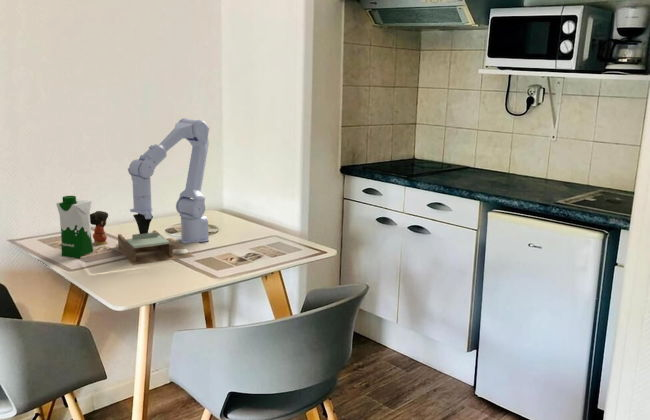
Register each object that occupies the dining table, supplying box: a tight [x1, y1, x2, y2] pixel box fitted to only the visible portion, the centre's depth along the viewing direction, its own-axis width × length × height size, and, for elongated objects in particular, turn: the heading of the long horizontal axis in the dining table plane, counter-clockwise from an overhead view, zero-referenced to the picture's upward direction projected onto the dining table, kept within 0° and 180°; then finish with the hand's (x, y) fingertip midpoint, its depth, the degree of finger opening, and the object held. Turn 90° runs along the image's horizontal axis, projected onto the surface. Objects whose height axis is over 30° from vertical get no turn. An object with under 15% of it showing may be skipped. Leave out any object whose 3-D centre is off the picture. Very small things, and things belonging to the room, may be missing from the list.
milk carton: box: [55, 195, 94, 259], centre depth 195 cm, size 9×9×20 cm
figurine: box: [90, 210, 109, 246], centre depth 208 cm, size 6×6×12 cm
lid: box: [126, 231, 169, 248], centre depth 196 cm, size 12×9×2 cm
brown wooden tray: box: [115, 229, 195, 266], centre depth 202 cm, size 20×25×5 cm
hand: (143, 235), depth 200 cm, fingers closed
